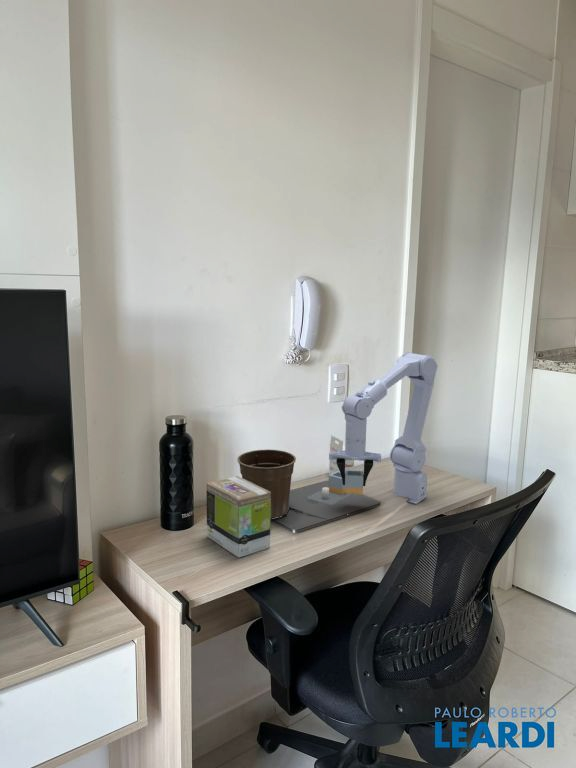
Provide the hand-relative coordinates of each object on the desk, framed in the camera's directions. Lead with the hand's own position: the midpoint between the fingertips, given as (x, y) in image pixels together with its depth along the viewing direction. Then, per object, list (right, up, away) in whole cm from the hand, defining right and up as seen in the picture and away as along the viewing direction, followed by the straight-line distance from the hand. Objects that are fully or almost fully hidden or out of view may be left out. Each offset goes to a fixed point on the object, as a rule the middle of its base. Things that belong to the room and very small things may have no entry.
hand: (353, 484), depth 164 cm
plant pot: (-25, -8, 0) cm, 26 cm away
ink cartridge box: (-1, -3, +27) cm, 27 cm away
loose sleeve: (0, -2, 0) cm, 2 cm away
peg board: (-5, -6, +11) cm, 14 cm away
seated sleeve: (-3, -4, +14) cm, 15 cm away
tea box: (-31, -11, -19) cm, 38 cm away
